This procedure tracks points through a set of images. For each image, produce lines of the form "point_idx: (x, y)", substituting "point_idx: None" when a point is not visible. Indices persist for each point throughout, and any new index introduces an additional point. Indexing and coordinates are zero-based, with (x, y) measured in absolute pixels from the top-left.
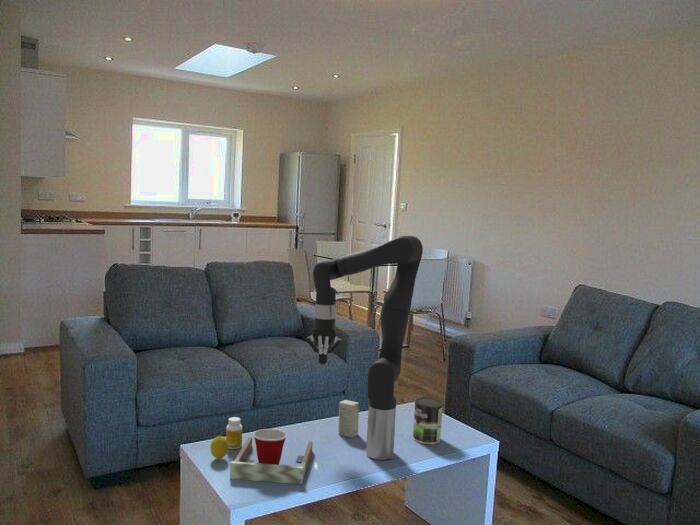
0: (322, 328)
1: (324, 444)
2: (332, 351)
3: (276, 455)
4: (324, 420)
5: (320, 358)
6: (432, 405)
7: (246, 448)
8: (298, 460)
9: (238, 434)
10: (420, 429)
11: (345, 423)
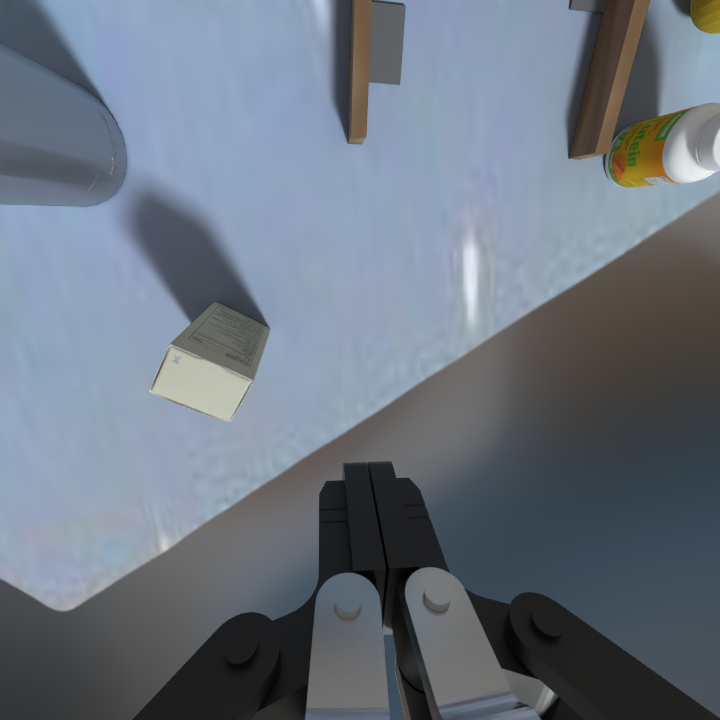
0: None
1: (308, 225)
2: (194, 661)
3: None
4: (332, 433)
5: (409, 520)
6: None
7: (623, 28)
8: (394, 23)
9: (667, 119)
10: None
11: (233, 329)
